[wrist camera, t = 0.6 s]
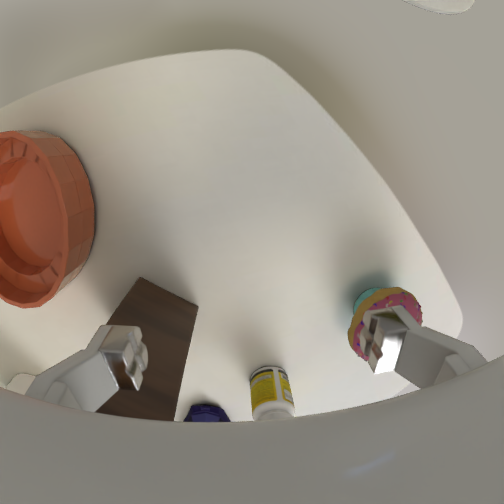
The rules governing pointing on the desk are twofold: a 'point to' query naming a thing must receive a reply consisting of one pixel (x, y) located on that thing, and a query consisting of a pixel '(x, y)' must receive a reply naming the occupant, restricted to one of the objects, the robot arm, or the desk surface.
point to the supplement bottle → (271, 394)
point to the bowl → (41, 217)
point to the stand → (154, 351)
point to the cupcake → (379, 300)
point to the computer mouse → (206, 414)
